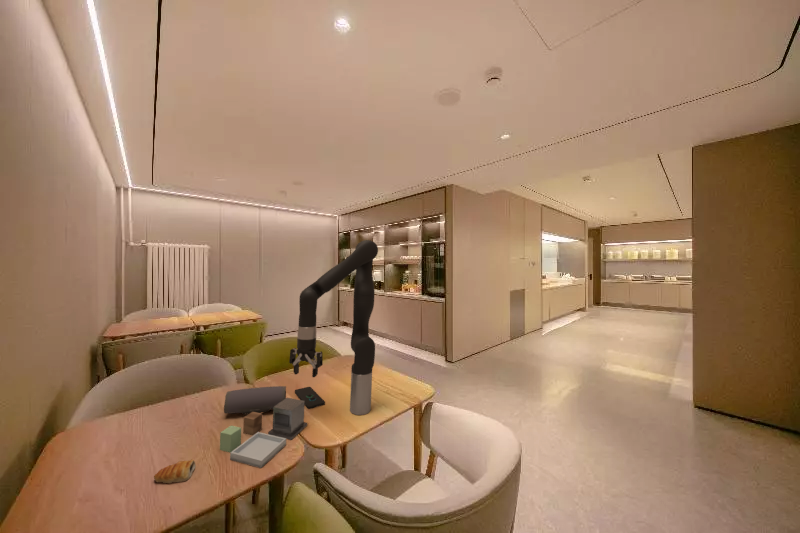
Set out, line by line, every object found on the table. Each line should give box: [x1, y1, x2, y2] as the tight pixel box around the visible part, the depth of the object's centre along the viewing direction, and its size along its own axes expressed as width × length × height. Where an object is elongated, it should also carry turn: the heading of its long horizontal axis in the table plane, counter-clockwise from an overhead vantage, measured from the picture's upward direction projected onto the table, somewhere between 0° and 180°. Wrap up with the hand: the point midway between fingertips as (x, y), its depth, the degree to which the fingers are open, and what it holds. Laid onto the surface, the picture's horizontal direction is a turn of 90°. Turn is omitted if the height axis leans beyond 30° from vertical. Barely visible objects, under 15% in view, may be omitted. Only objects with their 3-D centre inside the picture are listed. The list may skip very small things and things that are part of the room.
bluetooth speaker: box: [223, 385, 287, 415], centre depth 121 cm, size 23×9×10 cm, turn 108°
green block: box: [219, 425, 242, 453], centre depth 98 cm, size 4×4×6 cm
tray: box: [229, 431, 287, 469], centre depth 96 cm, size 12×12×2 cm
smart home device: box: [294, 386, 326, 410], centre depth 135 cm, size 8×2×20 cm
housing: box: [267, 397, 308, 441], centre depth 109 cm, size 10×10×10 cm
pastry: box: [153, 458, 196, 484], centre depth 84 cm, size 9×7×4 cm
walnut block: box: [242, 412, 263, 437], centre depth 107 cm, size 4×4×6 cm
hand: (305, 375), depth 119 cm, fingers open, 8 cm apart
